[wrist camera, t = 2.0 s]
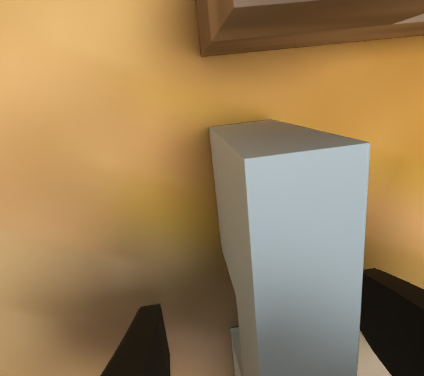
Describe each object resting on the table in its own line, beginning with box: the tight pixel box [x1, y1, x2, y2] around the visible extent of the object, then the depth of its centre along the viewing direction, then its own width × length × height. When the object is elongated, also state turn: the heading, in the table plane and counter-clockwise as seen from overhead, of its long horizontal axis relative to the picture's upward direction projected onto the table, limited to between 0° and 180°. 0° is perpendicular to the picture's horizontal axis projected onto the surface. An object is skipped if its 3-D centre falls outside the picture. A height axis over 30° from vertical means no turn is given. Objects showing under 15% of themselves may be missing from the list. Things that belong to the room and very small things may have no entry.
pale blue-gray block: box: [209, 119, 370, 376], centre depth 9 cm, size 12×2×5 cm, turn 6°
